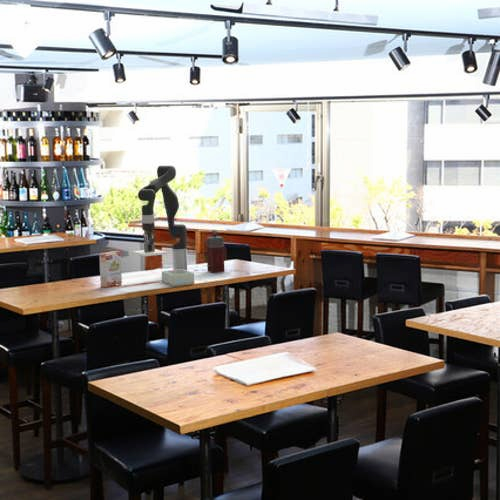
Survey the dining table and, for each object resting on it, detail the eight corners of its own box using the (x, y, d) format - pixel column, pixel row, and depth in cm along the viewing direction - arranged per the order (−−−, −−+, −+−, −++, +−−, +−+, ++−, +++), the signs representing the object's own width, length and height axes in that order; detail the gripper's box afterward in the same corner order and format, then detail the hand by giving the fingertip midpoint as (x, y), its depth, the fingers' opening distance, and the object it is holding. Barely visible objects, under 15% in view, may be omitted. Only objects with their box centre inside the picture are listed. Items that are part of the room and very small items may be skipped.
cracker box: (107, 287, 520) (105, 254, 518) (100, 287, 524) (98, 253, 521) (122, 284, 532) (121, 251, 529) (115, 283, 535) (113, 250, 533)
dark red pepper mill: (227, 271, 569) (226, 229, 565) (212, 273, 564) (210, 231, 560) (222, 269, 577) (221, 228, 573) (207, 271, 572) (205, 229, 568)
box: (162, 282, 534) (161, 271, 533) (182, 279, 541) (181, 269, 540) (173, 286, 519) (173, 275, 518) (194, 283, 525) (193, 272, 524)
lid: (132, 253, 523) (131, 243, 522) (155, 250, 530) (154, 240, 530) (143, 256, 507) (143, 246, 506) (167, 254, 514) (166, 243, 513)
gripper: (138, 221, 520) (139, 249, 523) (146, 223, 508) (148, 252, 511) (149, 220, 524) (150, 248, 526) (158, 222, 512) (159, 251, 514)
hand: (149, 250), depth 518 cm, fingers closed on lid
